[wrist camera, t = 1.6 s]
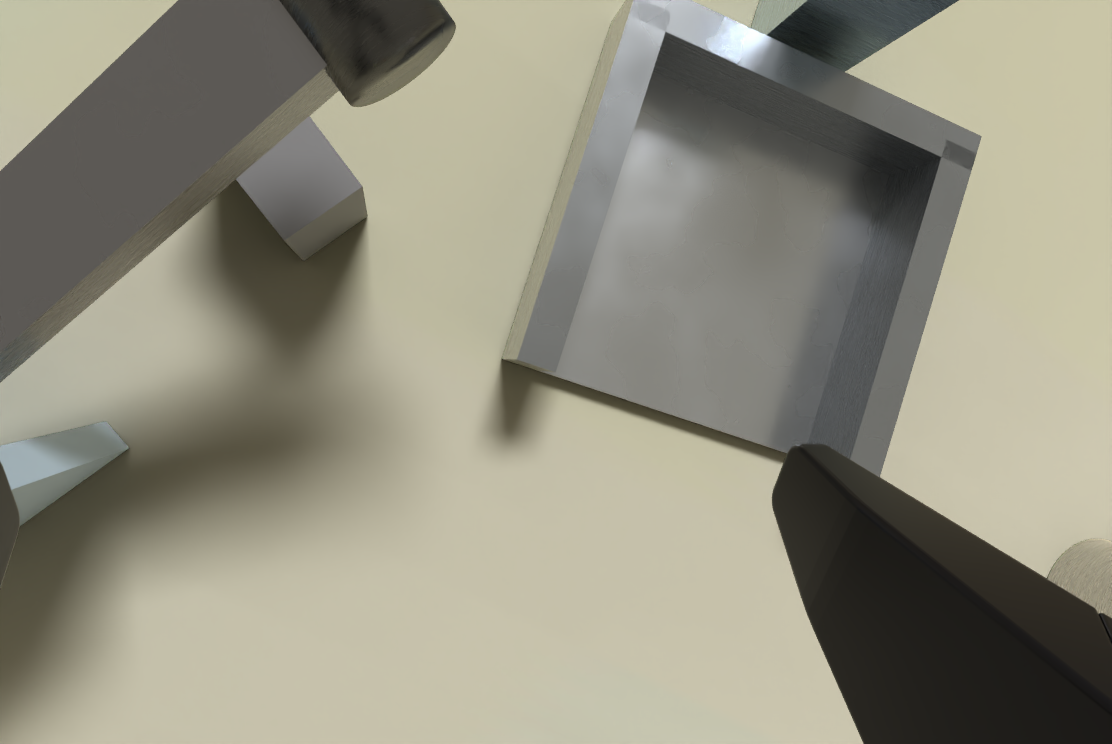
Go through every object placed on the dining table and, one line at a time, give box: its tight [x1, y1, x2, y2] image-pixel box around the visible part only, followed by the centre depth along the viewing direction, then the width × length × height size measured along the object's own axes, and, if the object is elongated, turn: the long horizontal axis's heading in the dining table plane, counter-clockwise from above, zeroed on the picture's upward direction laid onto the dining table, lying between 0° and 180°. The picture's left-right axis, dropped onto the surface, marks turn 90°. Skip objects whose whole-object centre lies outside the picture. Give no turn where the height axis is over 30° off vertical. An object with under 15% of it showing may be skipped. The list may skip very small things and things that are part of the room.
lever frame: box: [0, 116, 367, 527], centre depth 18 cm, size 7×17×7 cm, turn 127°
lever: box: [0, 0, 456, 382], centre depth 14 cm, size 4×14×2 cm, turn 128°
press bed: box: [502, 0, 982, 477], centre depth 21 cm, size 16×12×10 cm
